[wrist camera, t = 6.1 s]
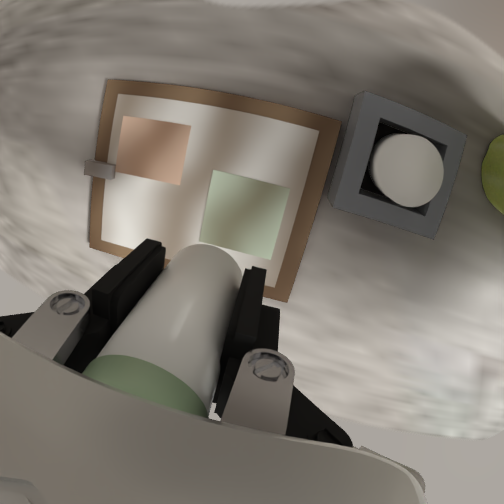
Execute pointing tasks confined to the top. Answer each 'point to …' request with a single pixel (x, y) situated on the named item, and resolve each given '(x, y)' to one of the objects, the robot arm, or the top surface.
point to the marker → (175, 333)
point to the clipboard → (208, 176)
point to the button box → (358, 152)
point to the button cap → (406, 169)
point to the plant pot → (494, 173)
